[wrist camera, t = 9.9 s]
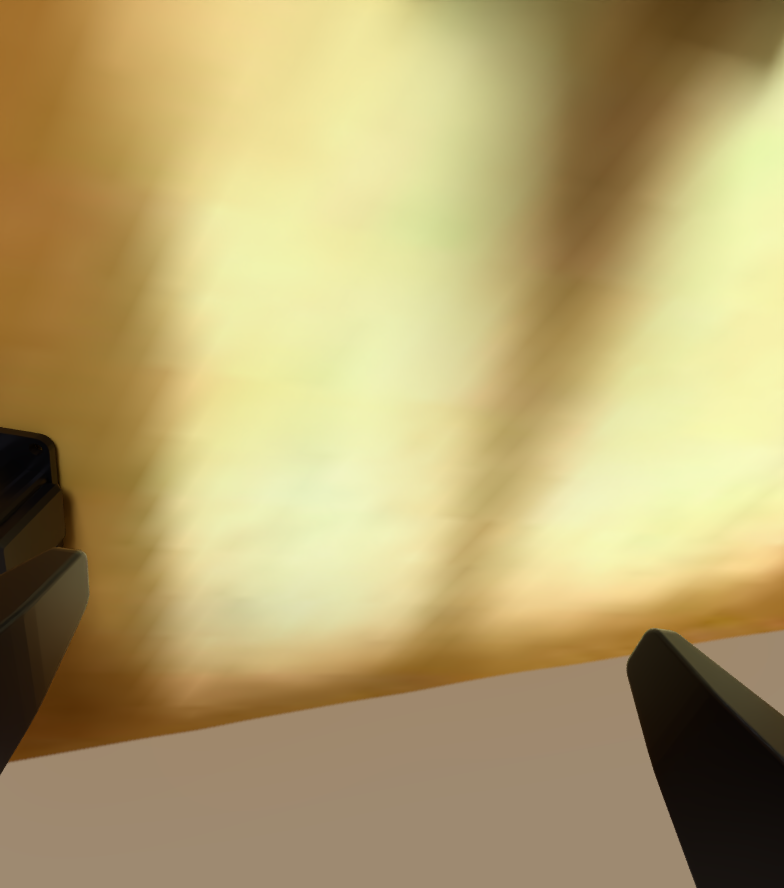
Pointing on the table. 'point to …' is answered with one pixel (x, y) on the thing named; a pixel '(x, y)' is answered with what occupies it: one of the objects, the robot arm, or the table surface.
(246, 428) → the table surface
